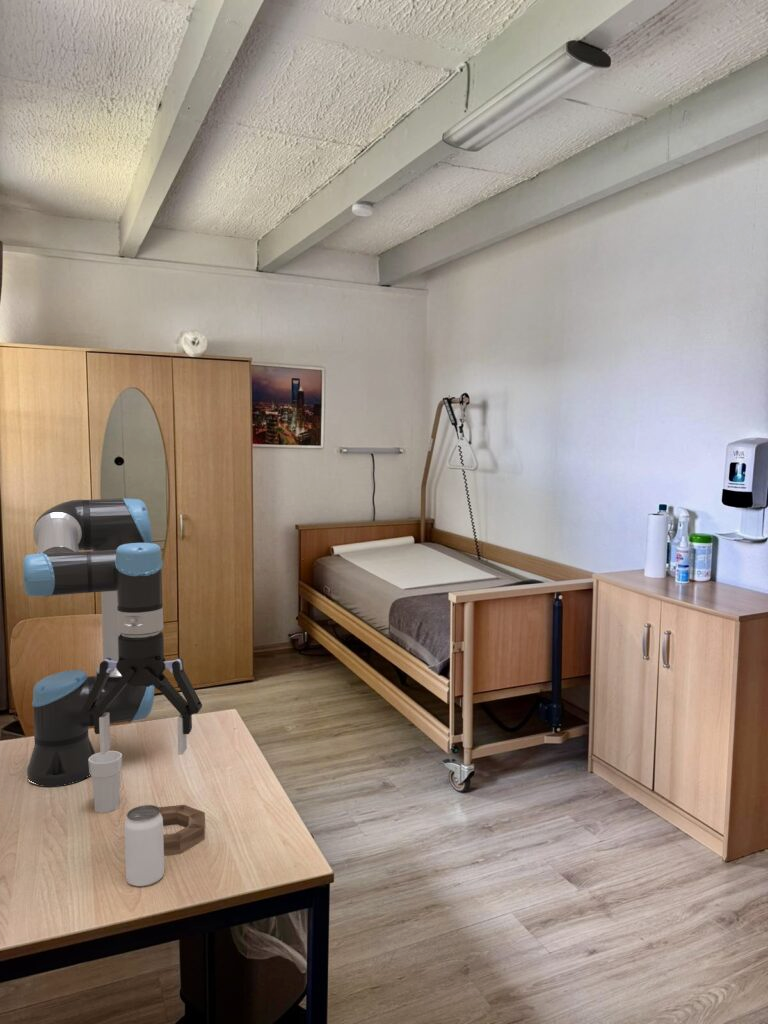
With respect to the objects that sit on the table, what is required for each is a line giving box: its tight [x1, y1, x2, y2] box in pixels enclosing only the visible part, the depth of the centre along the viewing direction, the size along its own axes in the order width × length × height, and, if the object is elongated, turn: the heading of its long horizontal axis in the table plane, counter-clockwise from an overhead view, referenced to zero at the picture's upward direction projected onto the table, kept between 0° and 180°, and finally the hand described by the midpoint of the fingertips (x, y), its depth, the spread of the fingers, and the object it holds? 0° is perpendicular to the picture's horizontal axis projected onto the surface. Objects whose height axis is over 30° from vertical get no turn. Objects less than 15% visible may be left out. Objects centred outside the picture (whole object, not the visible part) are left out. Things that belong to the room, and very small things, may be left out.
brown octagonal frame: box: [158, 804, 206, 856], centre depth 145 cm, size 14×14×2 cm
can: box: [124, 804, 165, 888], centre depth 130 cm, size 6×6×12 cm
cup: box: [88, 750, 123, 814], centre depth 156 cm, size 7×7×11 cm
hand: (143, 751), depth 129 cm, fingers open, 13 cm apart
